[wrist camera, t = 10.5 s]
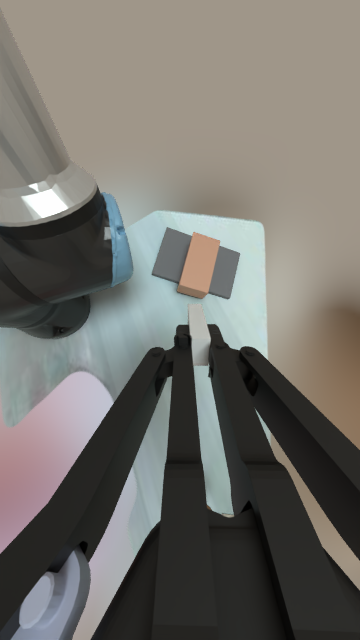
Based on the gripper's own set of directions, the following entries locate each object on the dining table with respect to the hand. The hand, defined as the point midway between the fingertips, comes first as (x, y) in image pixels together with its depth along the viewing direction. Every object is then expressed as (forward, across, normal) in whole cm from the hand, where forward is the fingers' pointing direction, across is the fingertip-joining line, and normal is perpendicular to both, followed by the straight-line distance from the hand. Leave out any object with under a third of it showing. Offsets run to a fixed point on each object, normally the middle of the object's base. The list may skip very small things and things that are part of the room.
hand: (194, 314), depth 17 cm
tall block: (+21, +1, -4) cm, 21 cm away
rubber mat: (+30, +3, +1) cm, 30 cm away
